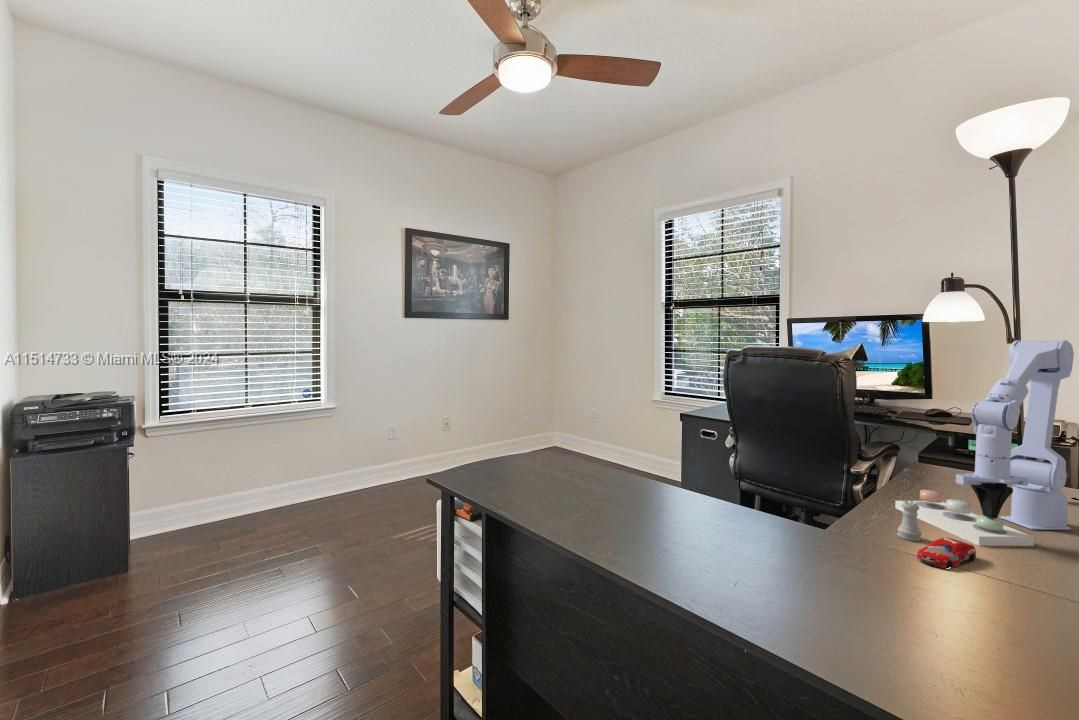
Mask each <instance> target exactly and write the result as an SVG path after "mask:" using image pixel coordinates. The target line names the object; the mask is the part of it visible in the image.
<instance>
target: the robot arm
mask: <svg viewBox="0 0 1079 720" xmlns="http://www.w3.org/2000/svg"><path fill="white" fill-rule="evenodd" d="M1074 356H1075V354H1074V348H1073V345H1072V343H1070V341H1068V340H1064V339H1063V340H1019V339H1018V340H1017V339H1016V340H1014V341H1013V342H1012V343H1011V344H1010V346H1009V349H1008V359H1009V362H1010V367H1009V370H1008V372H1007V374H1006V376H1005V378H1001V379H999V380H997V381H996V382H995V383H994V385H993V386H992V388H991V390H990V391H989V393H988V394H987V396H986V397H985V398H984V400H980V401H978V402H975V403H974V404H973V407H972V409H971V414H970V416H971V421H972V424H973V433H974V434H975V435H976V436H975V459H974V461H975V462H974V472H969V473H961V474H960V473H959V474H957V473H956V474H955V483H956V484H958V485H961V486H968V485H970V487H971V488H972V490H973V491H974V494H975V495H976V497H977V500H978V502H979V504H980V508H981V513H982V515H983V516H986V517H988V518H991V519H997V518H999V517H1000V518H999V519H1001V520H1005V521H1008V522H1010V523H1014V524H1015V525H1019V526H1022V527H1024V528H1027V529H1030V530H1036V531H1037V530H1047V531H1049V530H1050V531H1052V530H1054V531H1056V530H1057V531H1059V530H1060V531H1070V530H1071V529H1072V528H1071V527H1070V526H1067V525H1068V507H1069V502H1068V498H1067V496H1066V494H1065V493H1064V492H1063V491H1061V490H1062V489H1063V488H1064V487H1065V485H1066V483H1067V476H1068V475H1067V469H1066V468H1067V462H1066V460H1065V458H1064V457H1063V456H1062V455H1060V454H1059V453H1058V452H1057V451H1055V450H1054V449H1053V448H1051V447H1052V442H1053V433H1054V426H1055V424H1054V423H1055V419H1056V418H1055V417H1056V410H1057V409H1056V408H1057V402H1058V401H1057V400H1058V395H1059V388H1060V384H1061V380H1063V379H1064V380H1065V379H1067V378H1069V377H1071V373H1072V371H1073V364H1074V363H1073V362H1074ZM1029 382H1030V387H1028V386H1027V384H1028V383H1029ZM1028 394H1029V395H1028ZM1027 396H1028V401H1027V409H1026V414H1025V424H1024V430H1023V437H1022V444H1020V445H1018V446H1016V447H1013V448H1012V435H1013V430H1014V429H1015V428H1016V427H1017V425H1018V422H1019V418H1020V413H1021V409H1020V407H1021V405H1022V404H1023V402H1024V400H1025V399H1026V397H1027ZM1029 458H1032V459H1029ZM1036 459H1038V460H1036ZM1048 461H1049V462H1048ZM1008 485H1010V486H1008ZM1010 496H1011V504H1010V505H1011V507H1010V515H1000V513H1001V510H1002V507H1003V505H1004V504H1005V502H1006V501H1007V499H1008V498H1009V497H1010ZM999 515H1000V516H999Z"/></svg>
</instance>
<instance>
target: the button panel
mask: <svg viewBox="0 0 1079 720" xmlns="http://www.w3.org/2000/svg"><path fill="white" fill-rule="evenodd" d="M903 501H904V500H895V505H894V506H895V507H894V508H895V509H896V510H898V511H900V512H903V510H904V509H903V507H902V506H901V505H902V504H903ZM910 501H911V500H908V503H910ZM912 501H913V503H914V502H917V503H918V506H919V509H918V510H917V514H918V515H917V520H918V519H919V520H920V521H922V522H925V523H927V524H929V525H932V526H934V527H936V528H938V529H941V530H943V531H945V532H947V533H950V534H952V535H954V536H956V537H958V538H961V539H963V540H965V541H967V542H970V543H972V544H974V545H976V546H979V547H1034V546H1035V536H1034V535H1031V534H1029V533H1028V534H1027V533H1025V532H1023V531H1020V530H1017V529H1015V528H1012V527H1009V526H1007V525H1004V524H1003V531H990V530H986V529H982V528H980V527H978V526H976V518H977V516H978V514H977V513H973V512H971V513H970V514H962V513H956V512H952V511H949V510H947V509H946V502H944V501H942V502H941V503H933V502H928V501H924V500H912Z"/></svg>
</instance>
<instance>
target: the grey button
mask: <svg viewBox="0 0 1079 720" xmlns="http://www.w3.org/2000/svg"><path fill="white" fill-rule="evenodd" d="M945 503H946V509H947V510H949V511H952V512H956V513H962V514H970V513H972V512H971V509H972V507H971V506H972V503H970V502H969V501H968V502H967V501H965V500H960V499H951V498H950V499H946V501H945Z"/></svg>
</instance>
